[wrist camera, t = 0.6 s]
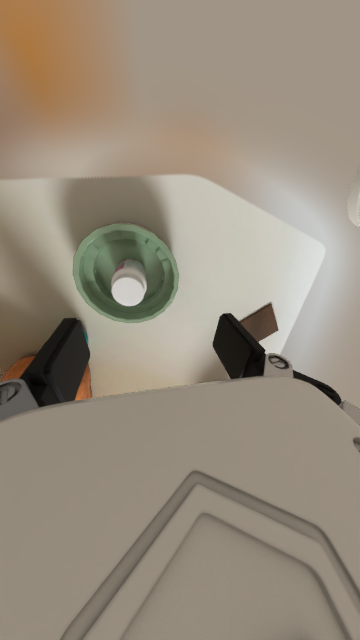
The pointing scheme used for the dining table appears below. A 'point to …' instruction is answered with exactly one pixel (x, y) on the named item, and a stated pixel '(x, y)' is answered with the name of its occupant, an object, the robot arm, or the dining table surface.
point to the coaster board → (261, 323)
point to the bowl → (102, 260)
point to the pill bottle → (129, 282)
